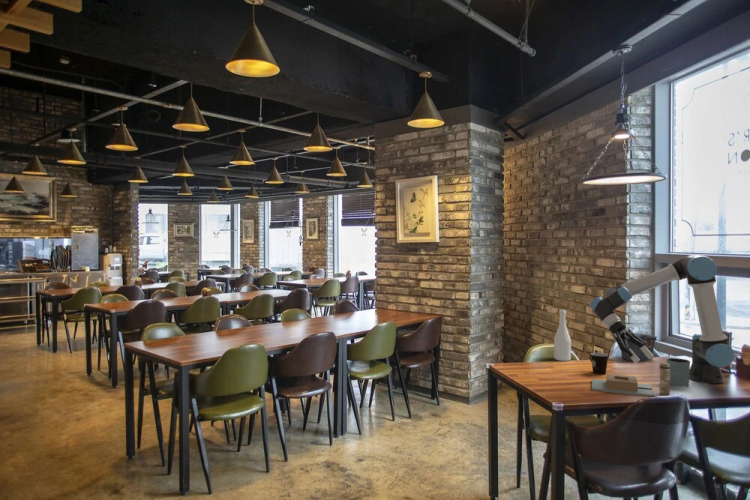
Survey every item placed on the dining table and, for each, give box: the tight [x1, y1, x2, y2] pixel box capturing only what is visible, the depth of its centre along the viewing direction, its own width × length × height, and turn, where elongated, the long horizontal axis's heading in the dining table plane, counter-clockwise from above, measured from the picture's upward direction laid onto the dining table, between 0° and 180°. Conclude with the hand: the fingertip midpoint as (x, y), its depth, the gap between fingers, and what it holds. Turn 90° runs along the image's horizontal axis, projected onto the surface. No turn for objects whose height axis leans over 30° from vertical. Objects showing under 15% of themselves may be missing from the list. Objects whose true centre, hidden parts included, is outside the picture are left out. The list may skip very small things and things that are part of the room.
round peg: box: [659, 362, 671, 396], centre depth 231 cm, size 4×4×14 cm
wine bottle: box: [553, 309, 572, 362], centre depth 300 cm, size 10×10×30 cm
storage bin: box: [620, 333, 658, 362], centre depth 299 cm, size 21×16×14 cm
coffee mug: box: [588, 352, 609, 375], centre depth 270 cm, size 12×9×10 cm
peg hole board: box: [591, 373, 655, 398], centre depth 239 cm, size 26×18×5 cm
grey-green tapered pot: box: [666, 357, 691, 387], centre depth 247 cm, size 10×10×12 cm
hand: (644, 359), depth 237 cm, fingers open, 13 cm apart
